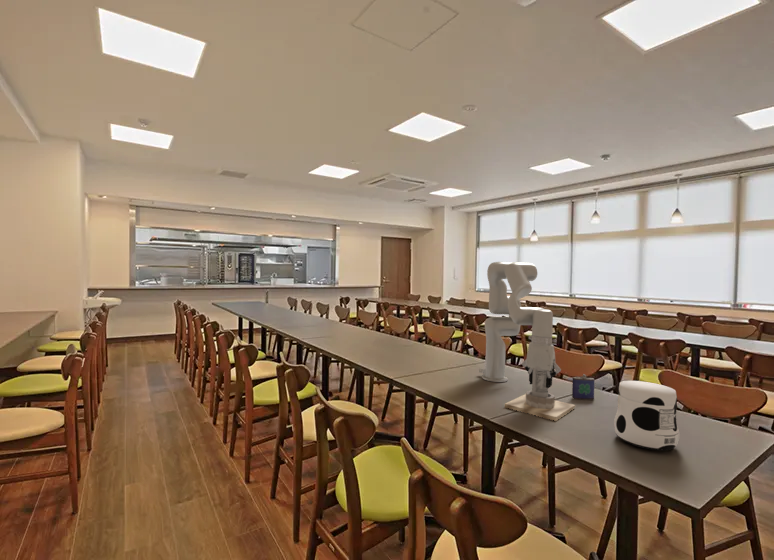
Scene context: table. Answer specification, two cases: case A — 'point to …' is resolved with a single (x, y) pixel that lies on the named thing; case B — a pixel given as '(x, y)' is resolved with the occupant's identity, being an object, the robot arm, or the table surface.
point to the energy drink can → (539, 383)
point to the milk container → (647, 415)
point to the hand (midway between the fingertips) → (540, 385)
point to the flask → (583, 387)
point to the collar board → (538, 411)
